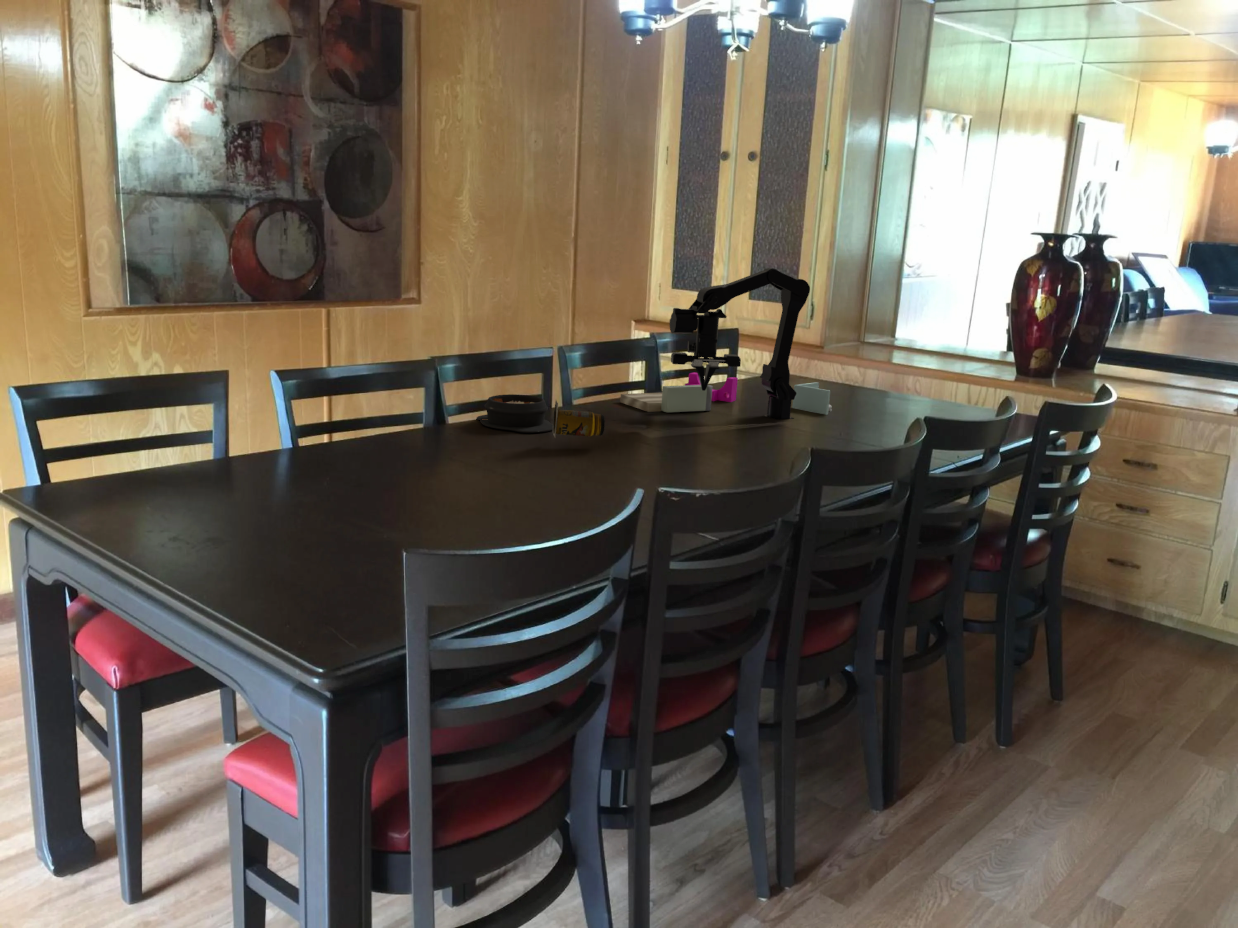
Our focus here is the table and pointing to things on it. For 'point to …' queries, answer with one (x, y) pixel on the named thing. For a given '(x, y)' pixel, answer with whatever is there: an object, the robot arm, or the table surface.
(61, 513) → the table surface
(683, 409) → the pale grey rectangular block
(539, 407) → the casserole
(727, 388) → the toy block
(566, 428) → the yellow can
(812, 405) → the right angle wall
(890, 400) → the table surface
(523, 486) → the table surface
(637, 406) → the stool seat
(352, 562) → the table surface
